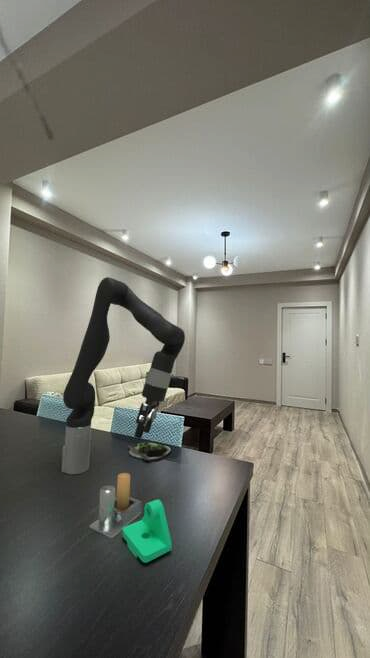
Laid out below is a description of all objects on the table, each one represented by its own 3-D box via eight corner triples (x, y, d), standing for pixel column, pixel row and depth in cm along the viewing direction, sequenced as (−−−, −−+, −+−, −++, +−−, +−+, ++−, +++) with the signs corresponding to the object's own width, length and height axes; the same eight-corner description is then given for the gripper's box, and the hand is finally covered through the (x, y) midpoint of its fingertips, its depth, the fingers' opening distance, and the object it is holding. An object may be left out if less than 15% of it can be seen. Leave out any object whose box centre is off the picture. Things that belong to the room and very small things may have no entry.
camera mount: (120, 538, 75) (122, 498, 75) (146, 527, 80) (147, 489, 80) (143, 568, 66) (146, 523, 66) (171, 554, 70) (173, 511, 71)
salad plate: (116, 455, 126) (117, 444, 127) (141, 443, 142) (141, 433, 142) (153, 466, 117) (153, 455, 117) (175, 451, 133) (175, 441, 133)
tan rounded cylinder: (114, 517, 82) (116, 478, 82) (117, 509, 86) (119, 472, 86) (127, 517, 82) (129, 479, 83) (129, 510, 86) (131, 473, 86)
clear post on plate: (120, 504, 89) (122, 470, 90) (141, 513, 86) (143, 477, 86) (89, 527, 79) (91, 488, 79) (111, 538, 75) (113, 497, 75)
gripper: (151, 380, 100) (137, 427, 98) (139, 381, 86) (122, 435, 84) (171, 387, 99) (158, 434, 97) (162, 388, 85) (146, 443, 83)
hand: (141, 434), depth 90 cm, fingers open, 8 cm apart
